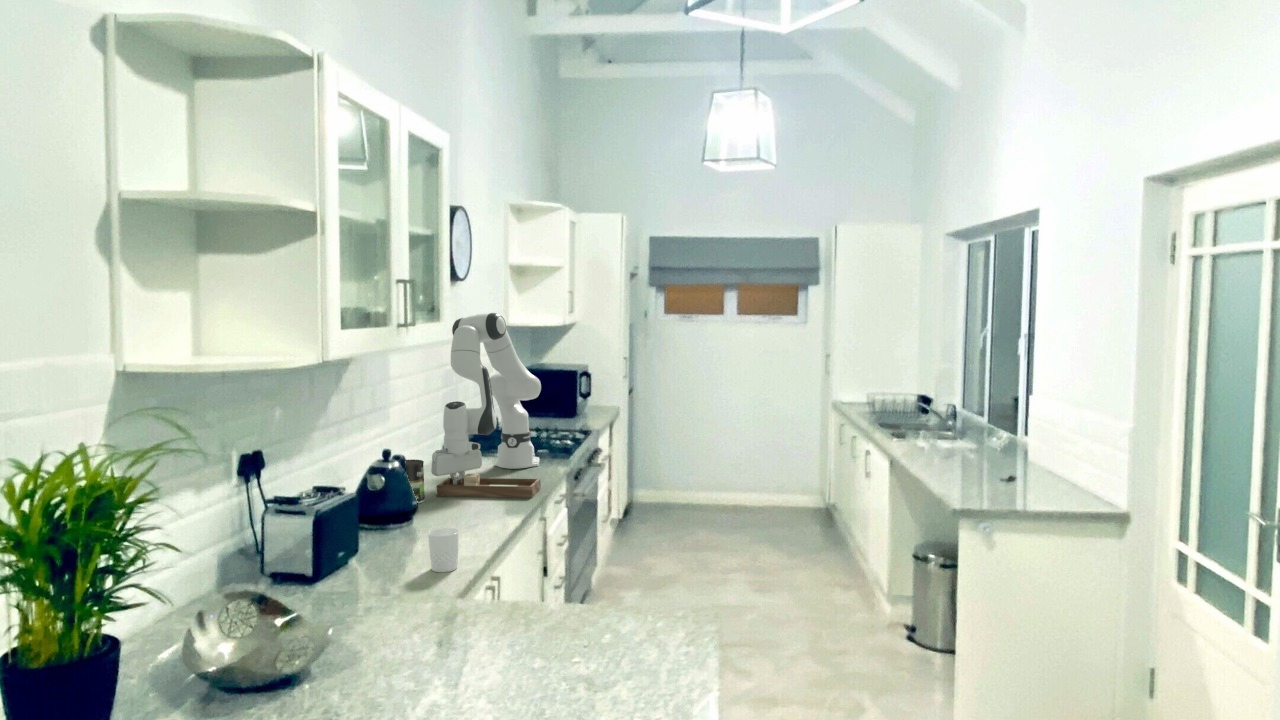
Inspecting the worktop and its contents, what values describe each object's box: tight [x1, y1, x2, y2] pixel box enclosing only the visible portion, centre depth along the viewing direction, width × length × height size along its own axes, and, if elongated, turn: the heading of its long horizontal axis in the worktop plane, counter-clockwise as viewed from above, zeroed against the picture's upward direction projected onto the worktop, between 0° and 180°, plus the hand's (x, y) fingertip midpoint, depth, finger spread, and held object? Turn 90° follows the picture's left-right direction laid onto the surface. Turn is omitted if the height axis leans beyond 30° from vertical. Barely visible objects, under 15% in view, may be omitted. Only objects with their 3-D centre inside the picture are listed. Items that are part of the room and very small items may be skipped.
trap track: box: [436, 477, 541, 499], centre depth 320 cm, size 13×35×4 cm, turn 84°
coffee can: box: [404, 459, 426, 505], centre depth 308 cm, size 10×10×14 cm
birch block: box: [463, 473, 481, 486], centre depth 321 cm, size 4×4×4 cm
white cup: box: [427, 527, 460, 573], centre depth 234 cm, size 8×8×10 cm
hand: (457, 484), depth 322 cm, fingers closed
